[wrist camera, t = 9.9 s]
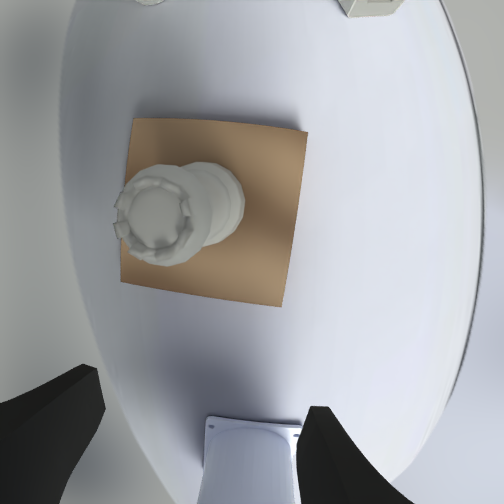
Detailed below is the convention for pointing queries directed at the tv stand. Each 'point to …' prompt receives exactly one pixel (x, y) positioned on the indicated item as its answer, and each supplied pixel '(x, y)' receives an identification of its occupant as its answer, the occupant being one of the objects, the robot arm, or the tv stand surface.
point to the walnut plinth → (255, 210)
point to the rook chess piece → (178, 211)
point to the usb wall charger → (370, 7)
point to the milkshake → (149, 2)
